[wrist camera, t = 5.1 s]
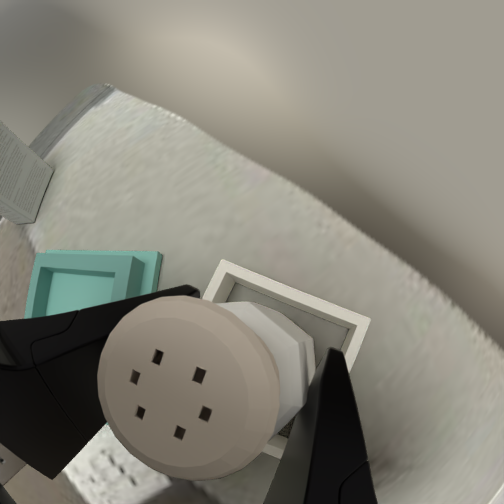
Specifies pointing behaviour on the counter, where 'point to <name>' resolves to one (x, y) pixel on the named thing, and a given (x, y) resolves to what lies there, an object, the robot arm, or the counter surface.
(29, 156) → the skincare box
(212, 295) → the white square tray
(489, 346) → the counter surface
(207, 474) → the pepper shaker
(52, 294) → the teal square tray
